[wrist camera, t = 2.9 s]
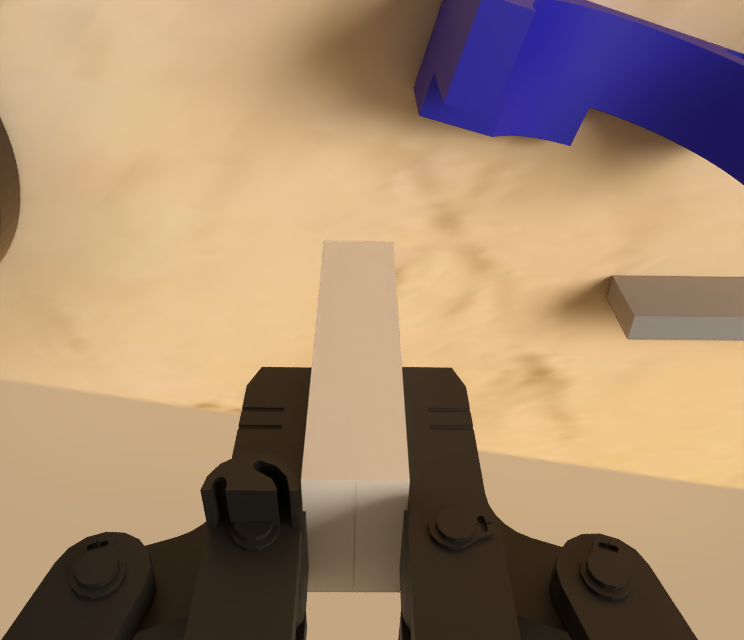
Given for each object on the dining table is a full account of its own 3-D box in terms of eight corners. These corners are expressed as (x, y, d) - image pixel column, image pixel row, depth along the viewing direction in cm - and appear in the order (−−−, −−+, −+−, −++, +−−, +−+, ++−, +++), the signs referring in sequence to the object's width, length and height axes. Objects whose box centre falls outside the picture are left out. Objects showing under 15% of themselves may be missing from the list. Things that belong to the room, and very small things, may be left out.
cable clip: (413, 86, 25) (425, 151, 20) (456, -45, 22) (483, -7, 18) (696, 171, 27) (768, 248, 22) (765, 60, 25) (863, 120, 20)
